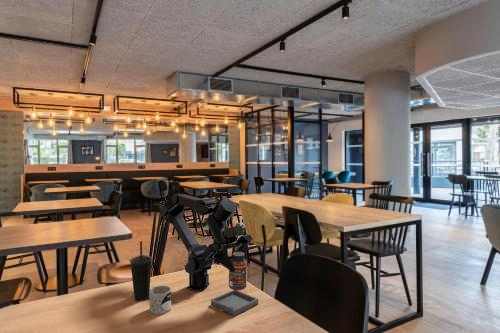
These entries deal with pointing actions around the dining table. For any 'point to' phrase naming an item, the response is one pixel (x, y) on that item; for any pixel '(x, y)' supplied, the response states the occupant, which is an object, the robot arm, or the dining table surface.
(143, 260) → the drinking cup
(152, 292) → the mug
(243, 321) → the dining table surface
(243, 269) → the supplement bottle
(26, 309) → the dining table surface
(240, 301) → the tray
